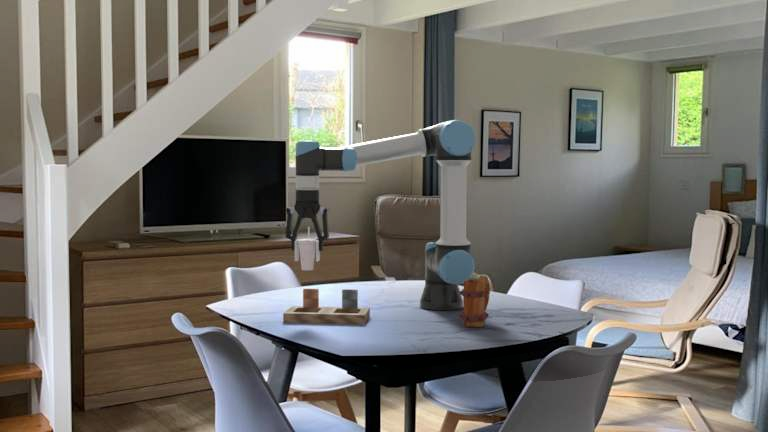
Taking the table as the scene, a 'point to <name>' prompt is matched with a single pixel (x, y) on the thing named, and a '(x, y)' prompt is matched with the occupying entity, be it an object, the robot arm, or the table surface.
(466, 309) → the mug
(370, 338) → the table surface
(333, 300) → the table surface
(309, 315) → the socket board
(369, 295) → the table surface
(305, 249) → the smoothie
